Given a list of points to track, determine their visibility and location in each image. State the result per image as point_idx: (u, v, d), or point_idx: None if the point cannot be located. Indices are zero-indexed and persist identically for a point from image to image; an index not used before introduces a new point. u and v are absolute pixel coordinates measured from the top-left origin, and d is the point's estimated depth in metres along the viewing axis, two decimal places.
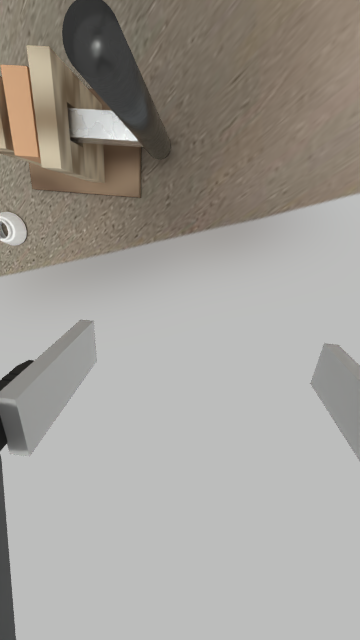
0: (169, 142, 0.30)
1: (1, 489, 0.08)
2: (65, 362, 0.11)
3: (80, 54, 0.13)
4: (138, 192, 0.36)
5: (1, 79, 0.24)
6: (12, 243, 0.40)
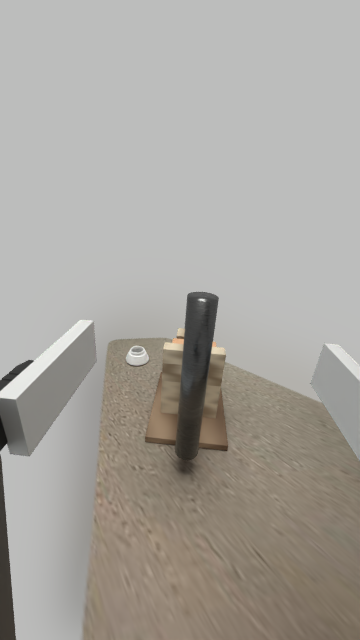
0: (187, 453, 0.31)
1: (1, 489, 0.08)
2: (65, 362, 0.11)
3: (196, 294, 0.25)
4: (149, 437, 0.36)
5: None
6: (127, 355, 0.55)
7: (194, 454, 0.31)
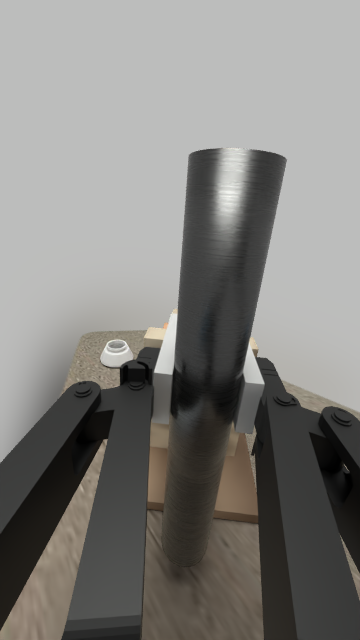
0: (187, 556, 0.14)
1: None
2: None
3: None
4: None
5: None
6: (102, 352, 0.39)
7: (201, 554, 0.15)
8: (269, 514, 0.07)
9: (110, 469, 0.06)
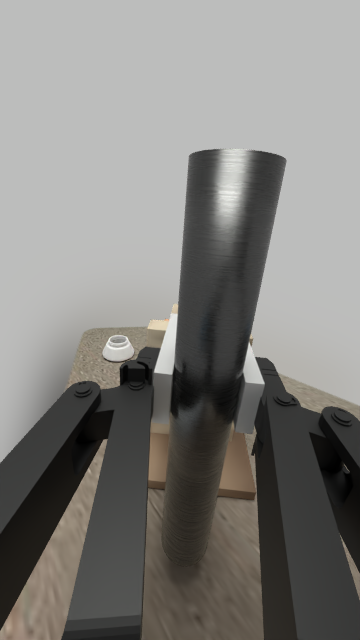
0: (187, 555, 0.14)
1: None
2: None
3: None
4: None
5: None
6: None
7: (201, 553, 0.15)
8: (269, 514, 0.07)
9: (110, 469, 0.06)
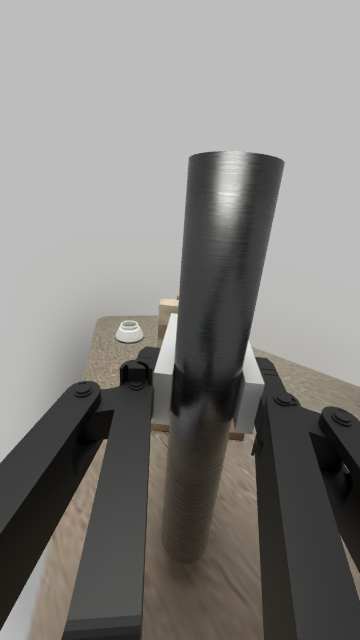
0: (187, 552, 0.15)
1: None
2: None
3: None
4: None
5: None
6: (117, 331, 0.46)
7: (201, 551, 0.15)
8: (269, 514, 0.07)
9: (110, 469, 0.06)
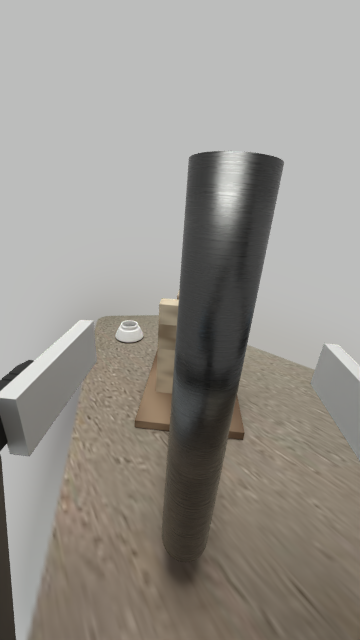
0: (187, 551, 0.15)
1: (1, 489, 0.08)
2: (65, 362, 0.11)
3: None
4: (140, 420, 0.28)
5: None
6: (117, 330, 0.46)
7: (200, 549, 0.15)
8: None
9: None
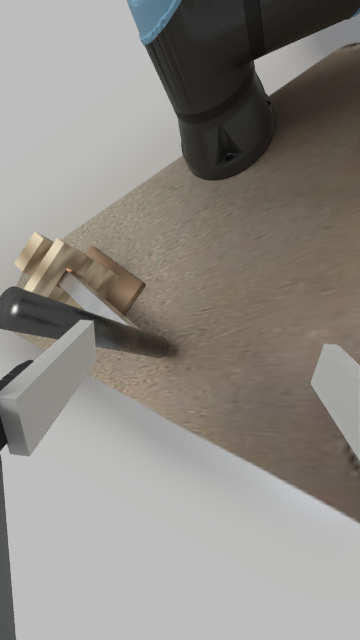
0: (162, 351, 0.34)
1: (1, 489, 0.08)
2: (65, 362, 0.11)
3: (0, 310, 0.17)
4: None
5: (48, 243, 0.38)
6: None
7: (166, 345, 0.34)
8: None
9: None
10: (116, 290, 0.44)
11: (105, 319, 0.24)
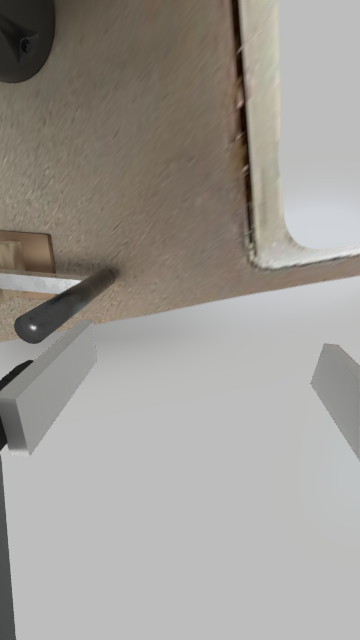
0: (112, 279, 0.42)
1: (1, 489, 0.08)
2: (65, 362, 0.11)
3: (24, 334, 0.24)
4: None
5: None
6: None
7: (111, 273, 0.42)
8: None
9: None
10: (29, 255, 0.45)
11: (71, 290, 0.31)
